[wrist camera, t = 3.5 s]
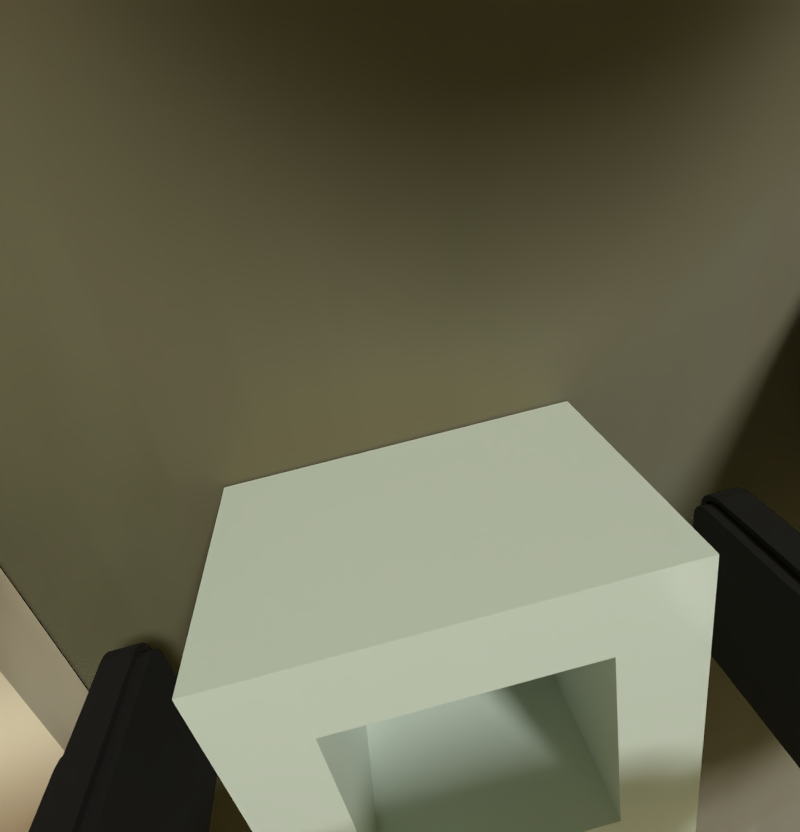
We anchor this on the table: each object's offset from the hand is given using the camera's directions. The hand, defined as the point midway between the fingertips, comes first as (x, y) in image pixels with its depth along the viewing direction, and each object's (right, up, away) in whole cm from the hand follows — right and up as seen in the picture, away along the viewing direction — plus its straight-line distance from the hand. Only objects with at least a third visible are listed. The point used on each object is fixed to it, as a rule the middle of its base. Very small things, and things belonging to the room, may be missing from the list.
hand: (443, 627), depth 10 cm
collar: (0, +1, +1) cm, 1 cm away
